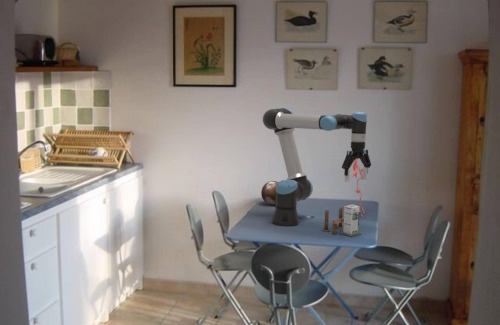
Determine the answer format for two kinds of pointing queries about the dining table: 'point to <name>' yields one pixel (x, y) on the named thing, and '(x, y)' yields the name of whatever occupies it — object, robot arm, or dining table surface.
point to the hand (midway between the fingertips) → (355, 180)
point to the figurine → (356, 168)
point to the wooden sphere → (269, 192)
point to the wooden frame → (334, 221)
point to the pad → (350, 234)
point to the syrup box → (351, 219)
